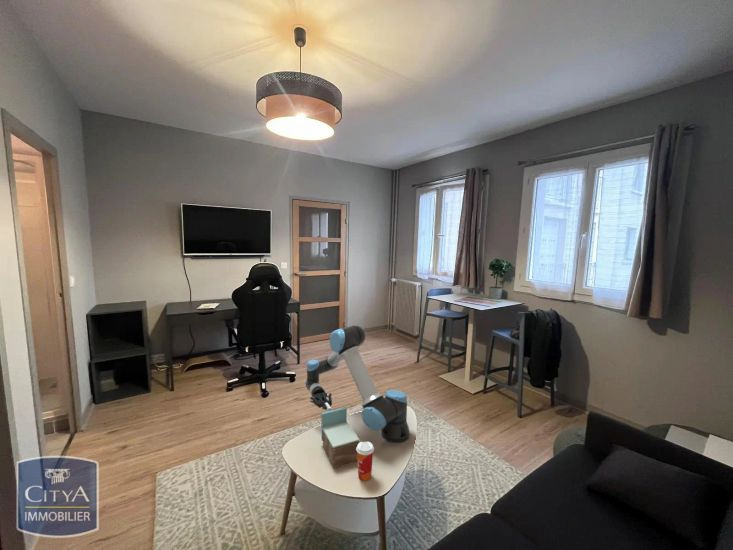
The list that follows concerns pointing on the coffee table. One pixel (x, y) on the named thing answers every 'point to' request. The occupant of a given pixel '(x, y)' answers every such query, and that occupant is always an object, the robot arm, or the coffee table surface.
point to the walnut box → (340, 453)
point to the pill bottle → (364, 460)
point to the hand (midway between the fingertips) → (329, 410)
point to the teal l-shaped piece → (337, 428)
